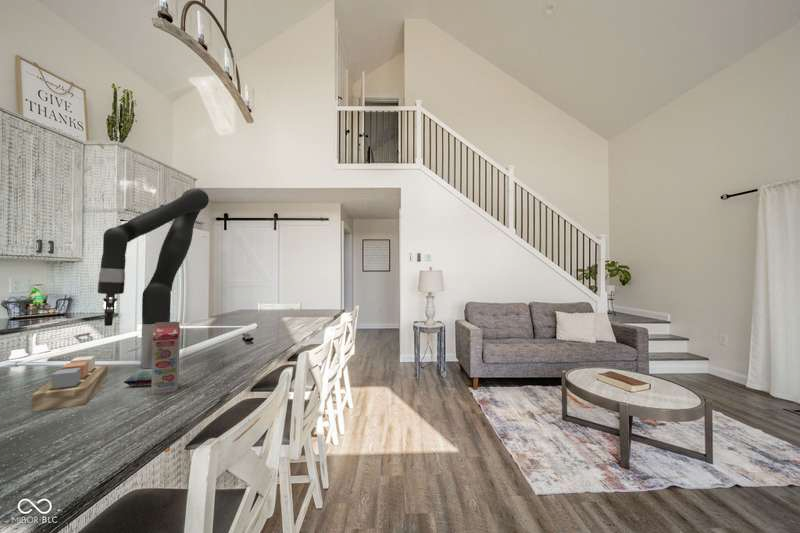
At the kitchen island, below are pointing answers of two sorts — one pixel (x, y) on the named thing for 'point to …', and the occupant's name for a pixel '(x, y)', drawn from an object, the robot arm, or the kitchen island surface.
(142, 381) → the packaged food
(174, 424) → the kitchen island surface
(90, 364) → the white square block
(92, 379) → the light brown rectangular frame
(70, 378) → the slate key
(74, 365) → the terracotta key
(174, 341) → the juice carton
